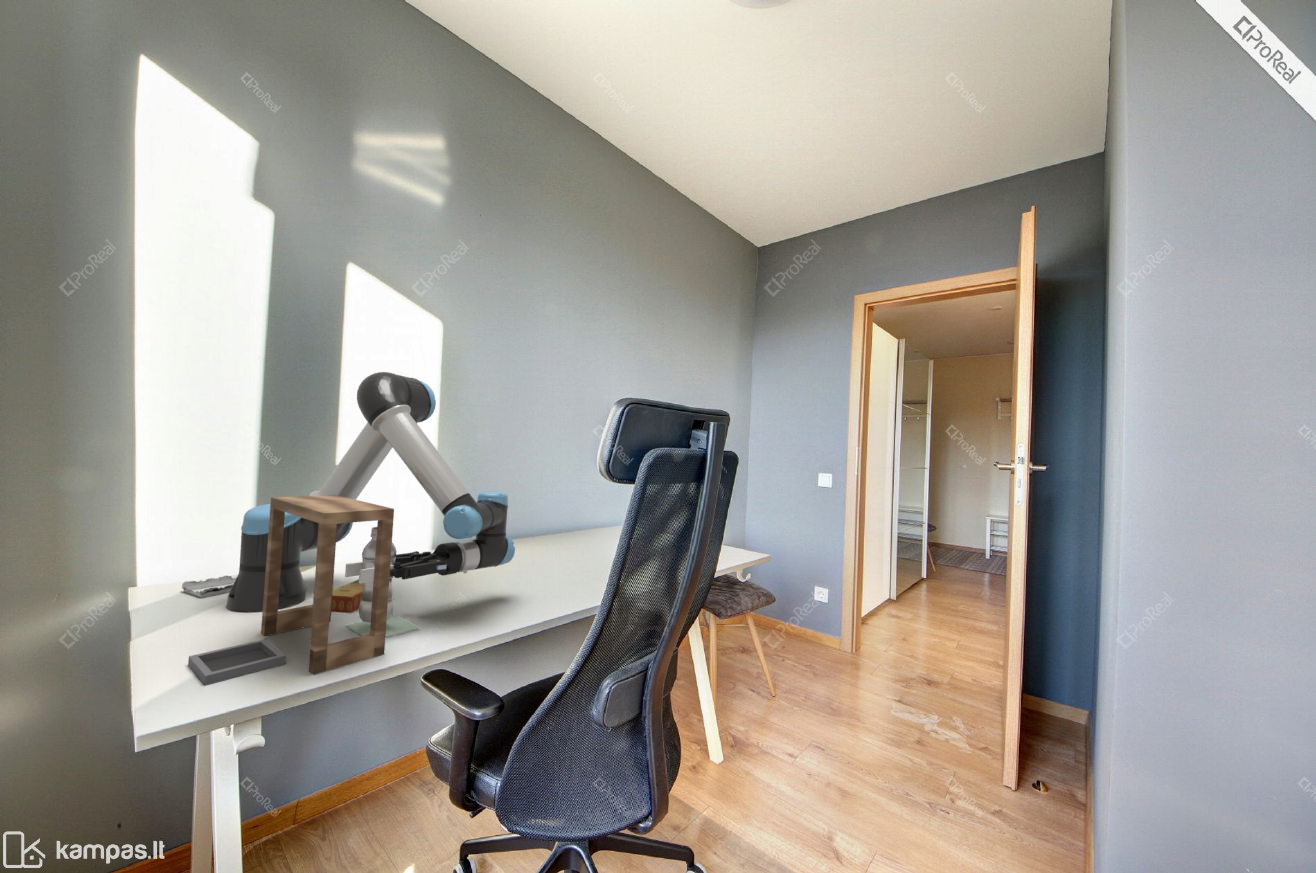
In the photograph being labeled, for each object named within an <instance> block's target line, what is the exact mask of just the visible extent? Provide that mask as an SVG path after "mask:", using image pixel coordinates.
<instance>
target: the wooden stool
mask: <svg viewBox="0 0 1316 873" xmlns="http://www.w3.org/2000/svg"><path fill="white" fill-rule="evenodd" d="M270 504H271V505H270V518H269V532H268V545H267V558H266V572H265V585H264V599H263V611H261V612H262V614H261V615H262V616H261V626H260V628H261V630H260V634H261V635H262V636H263V637H268V636H271V634H273V635H276V634H283V633H286V632H290V631H295V630H299V628H300V629H303V628H302V627H304V628H309V627H311V631H310V641H309V643H310V644H309V655H308V656H309V657H308V670H307V671H308V673H310V674H311V675H312V676H314V675H317V674H321V673H325V672H327V671H331V670H335V669H338V668H341V667H346V666H348V665H349V666H350V665H353V664H356V663H358V662H361V661H365V660H369V659H373V658H376V657H379V656H382V655H385V648H386V647H385V646H386V638H385V636H386V622H387V607H388V592H389V578H390V563H391V548H392V543H393V533H394V532H393V530H394V518H395V516H394V515H395V509H394V508H393V507H388V506H383V505H379V504H375V503H370V502H367V501H363V500H359V499H358V500H357V499H356V500H355V499H350V498H346V497H342V496H338V495H323V496H309V495H303V496H301V495H300V496H277V497H275V496H274V497H270ZM285 512H286V513H289V514H293V515H296V516H299V517H302V518H305V519H308V520H311V521H314V522H317V523H319V529H318V543H317V548H316V558H315V559H316V561H315V576H314V588H313V600H312V601H313V602H312V604H309V605H304V606H299V607H298V606H297V607H292V608H288V609H281V610H279V609H278V601H279V587H280V574H281V560H282V547H283V533H284V519H285ZM375 521H377V526H376V527H377V539H376V553H375V568H374V582H373V597H372V611H371V626H370V633H369V634H365V635H358V636H353V637H349V638H345V639H341V640H338V641H334V642H331V643H329V632H330V631H329V629H330V622H331V616H332V612H331V606H332V592H333V590H334V577H335V576H334V575H335V561H336V549H337V547H336V546H337V542H336V535H337V524H340V523H352V522H353V523H363V522H375ZM294 629H295V630H294Z"/></svg>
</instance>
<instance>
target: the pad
mask: <svg viewBox="0 0 1316 873" xmlns="http://www.w3.org/2000/svg"><path fill="white" fill-rule="evenodd" d="M370 626H371V622H364V621H362V620H360V621H358V622H354V623H349V624H346V626H345V627H346V628H347V629H349V630H351V631H352V632H354V633H356V634H357V635H358V636H361V635H365V634H369V633H370ZM419 630H421V627H420V626H418V625H416V624H414V623H412V622H410V621H408V620H406V619H404V618H401V617H399V616H398V615H397V614H394V613H393V614H392V615H391V617H390V618H389V619H387V622H386V636H385V639H388V638H393V637H395V636H400V635H403V634H407V633H410V632H415V631H419Z"/></svg>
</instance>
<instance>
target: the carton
mask: <svg viewBox="0 0 1316 873" xmlns="http://www.w3.org/2000/svg"><path fill="white" fill-rule="evenodd" d="M363 585H364V583H362V584H360V583H359V579H357V580H356V579H355V580H354V581H351V582H348V583H347V584H344V585H342V586H339V587H336V588H333V592H332V606H331V613H347V614H353V613H355V612H357V611H358V610H359V605H360V602H361V598H362V592H363Z"/></svg>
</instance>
